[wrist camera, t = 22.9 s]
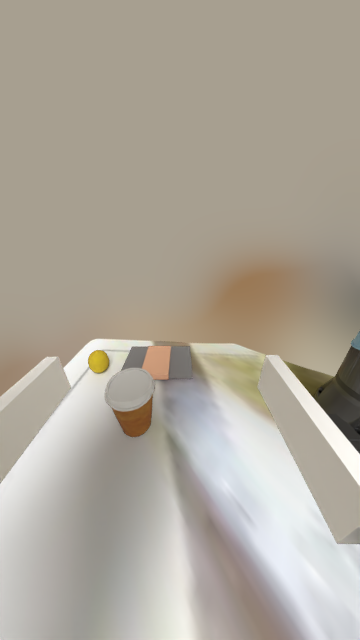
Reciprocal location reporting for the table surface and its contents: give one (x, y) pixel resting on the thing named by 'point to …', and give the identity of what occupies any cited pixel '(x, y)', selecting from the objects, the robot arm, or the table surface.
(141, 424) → the disposable coffee cup
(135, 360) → the mat
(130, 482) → the table surface
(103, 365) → the lemon
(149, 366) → the tile
